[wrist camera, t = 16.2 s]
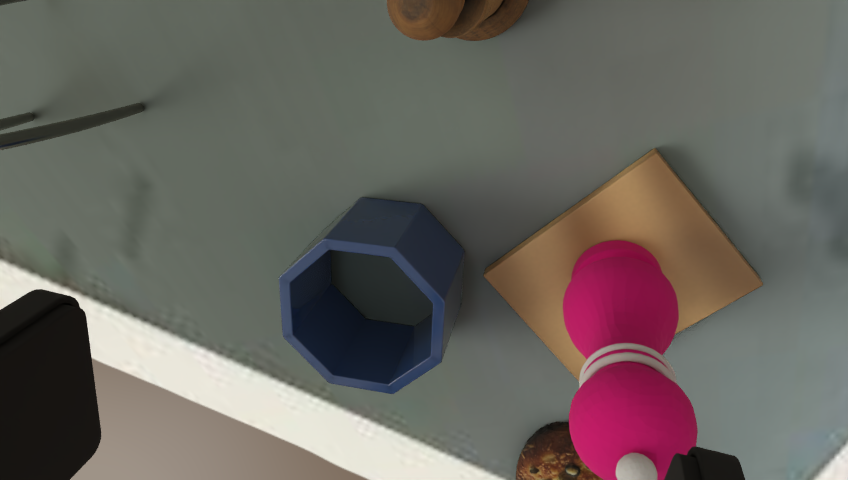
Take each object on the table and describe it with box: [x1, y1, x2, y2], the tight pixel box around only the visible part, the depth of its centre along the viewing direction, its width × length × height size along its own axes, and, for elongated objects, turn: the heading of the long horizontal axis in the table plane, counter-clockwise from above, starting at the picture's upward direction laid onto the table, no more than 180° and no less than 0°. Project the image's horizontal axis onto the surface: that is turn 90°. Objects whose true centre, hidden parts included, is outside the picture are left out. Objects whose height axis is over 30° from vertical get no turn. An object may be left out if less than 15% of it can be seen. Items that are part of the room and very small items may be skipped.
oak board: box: [483, 148, 763, 381], centre depth 46 cm, size 15×12×1 cm
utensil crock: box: [279, 197, 465, 394], centre depth 47 cm, size 12×12×8 cm
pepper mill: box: [563, 240, 697, 480], centre depth 37 cm, size 7×7×20 cm
